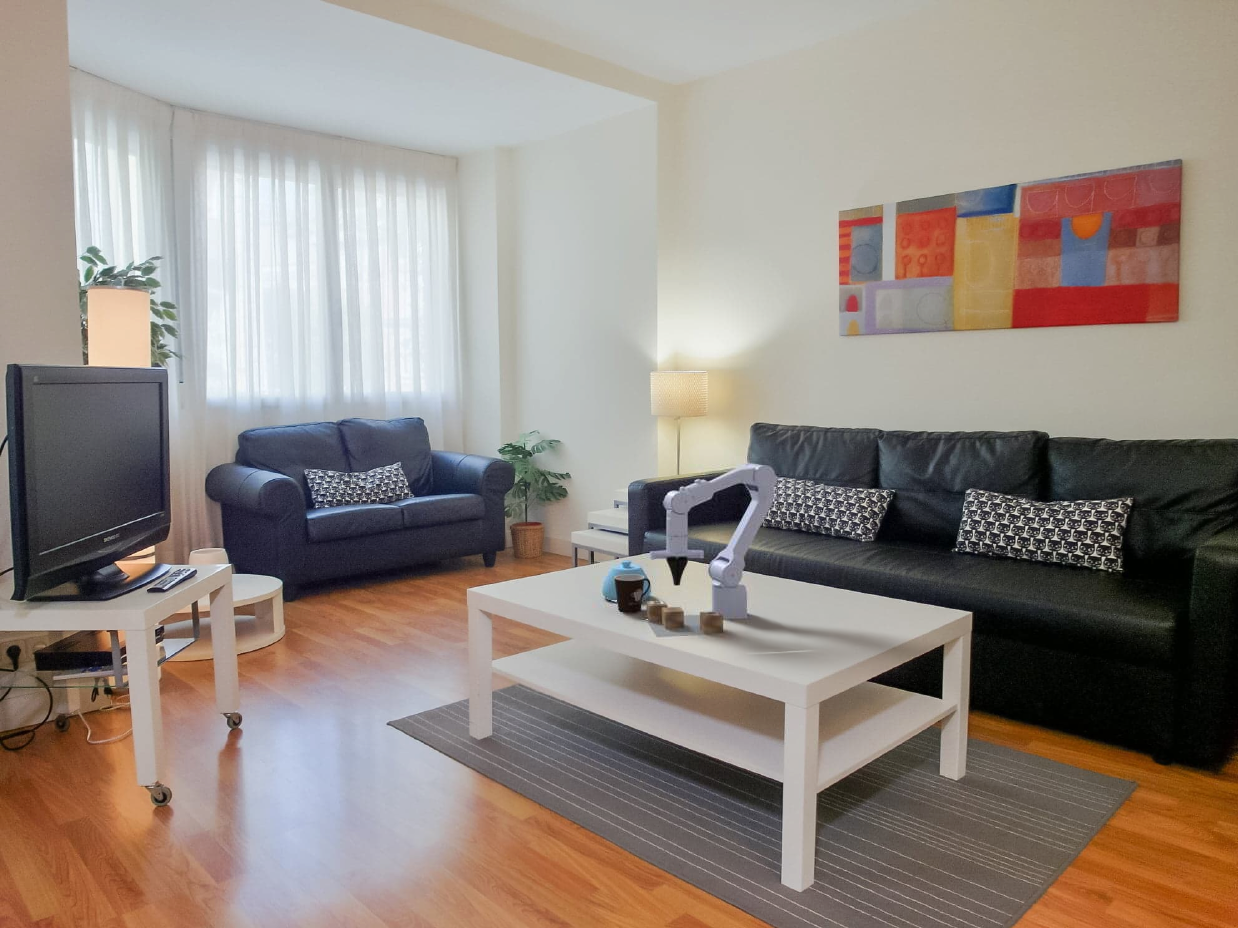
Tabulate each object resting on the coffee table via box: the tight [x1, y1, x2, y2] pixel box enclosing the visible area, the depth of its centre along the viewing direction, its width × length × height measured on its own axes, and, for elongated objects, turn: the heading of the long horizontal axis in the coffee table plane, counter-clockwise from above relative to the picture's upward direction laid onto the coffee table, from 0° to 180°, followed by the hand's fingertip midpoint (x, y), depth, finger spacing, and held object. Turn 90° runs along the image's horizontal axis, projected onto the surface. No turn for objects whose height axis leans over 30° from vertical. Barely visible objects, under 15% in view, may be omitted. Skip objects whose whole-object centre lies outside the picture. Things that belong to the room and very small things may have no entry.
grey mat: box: [644, 614, 726, 638], centre depth 237 cm, size 18×20×1 cm
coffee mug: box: [614, 574, 651, 614], centre depth 254 cm, size 12×9×10 cm
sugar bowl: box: [601, 560, 652, 601], centre depth 270 cm, size 15×15×12 cm
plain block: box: [662, 606, 685, 629], centre depth 236 cm, size 5×5×4 cm
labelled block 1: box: [645, 600, 669, 622], centre depth 243 cm, size 5×5×5 cm
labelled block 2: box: [699, 611, 724, 635], centre depth 231 cm, size 5×5×5 cm
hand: (676, 584), depth 242 cm, fingers closed
